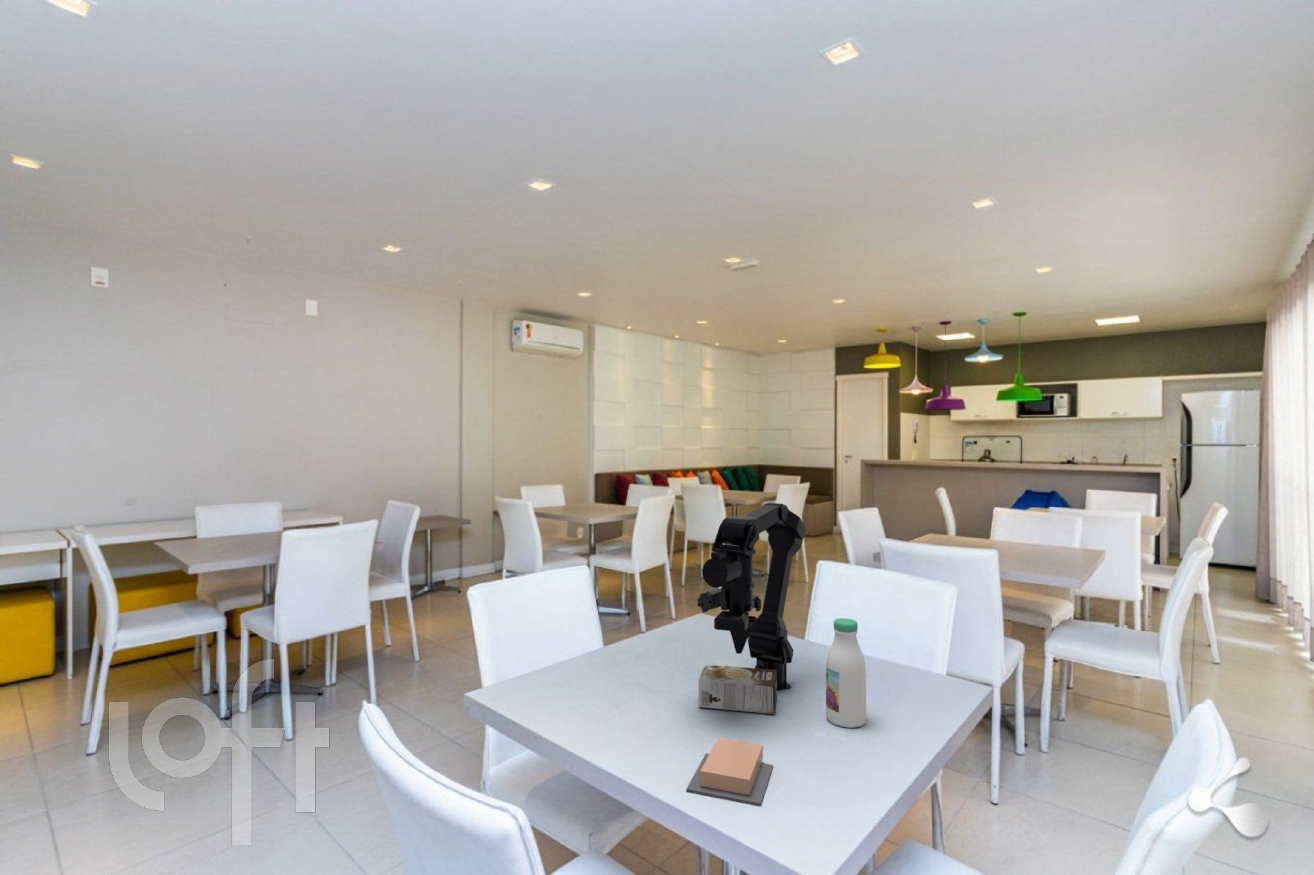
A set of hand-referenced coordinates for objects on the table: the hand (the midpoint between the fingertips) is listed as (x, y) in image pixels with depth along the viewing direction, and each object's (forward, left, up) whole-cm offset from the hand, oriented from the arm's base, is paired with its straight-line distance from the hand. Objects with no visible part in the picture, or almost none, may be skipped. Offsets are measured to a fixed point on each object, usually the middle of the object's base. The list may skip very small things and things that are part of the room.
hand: (738, 653), depth 130 cm
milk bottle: (-17, +13, -12) cm, 25 cm away
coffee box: (+5, -8, -9) cm, 13 cm away
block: (+10, +16, -10) cm, 22 cm away
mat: (+15, +21, -12) cm, 29 cm away
